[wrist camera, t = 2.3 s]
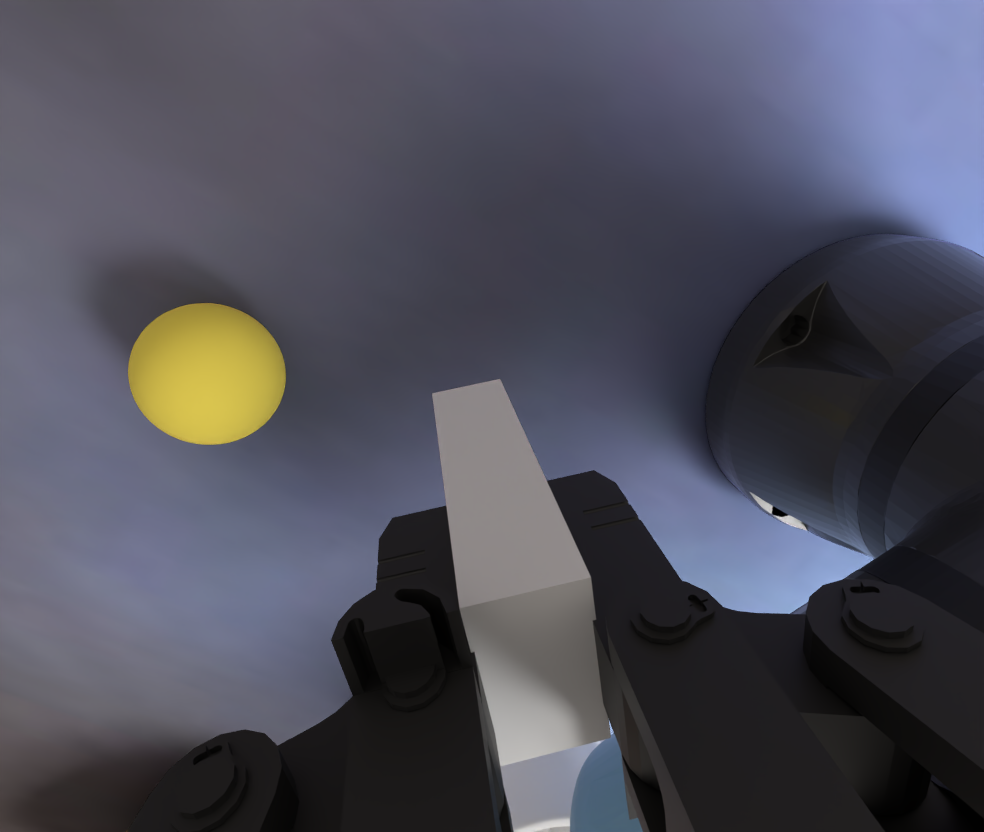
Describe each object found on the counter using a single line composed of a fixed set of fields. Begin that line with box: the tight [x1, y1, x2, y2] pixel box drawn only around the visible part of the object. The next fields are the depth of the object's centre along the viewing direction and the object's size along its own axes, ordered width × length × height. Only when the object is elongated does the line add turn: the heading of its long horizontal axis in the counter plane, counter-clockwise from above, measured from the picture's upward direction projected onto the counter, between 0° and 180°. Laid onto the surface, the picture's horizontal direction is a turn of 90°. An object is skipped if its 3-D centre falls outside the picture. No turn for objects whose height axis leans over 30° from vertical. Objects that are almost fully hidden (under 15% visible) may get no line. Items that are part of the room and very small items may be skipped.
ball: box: [128, 303, 286, 445], centre depth 22 cm, size 6×6×6 cm
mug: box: [500, 740, 604, 832], centre depth 33 cm, size 12×10×9 cm
